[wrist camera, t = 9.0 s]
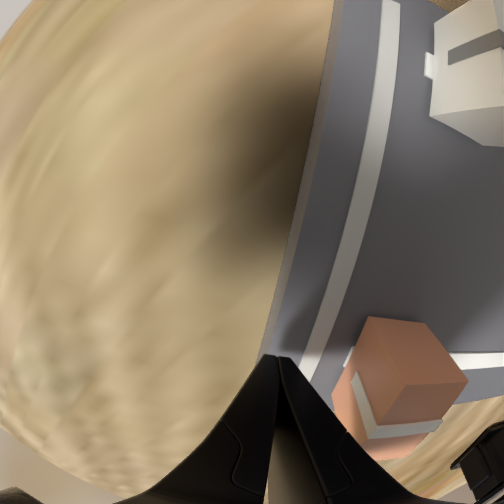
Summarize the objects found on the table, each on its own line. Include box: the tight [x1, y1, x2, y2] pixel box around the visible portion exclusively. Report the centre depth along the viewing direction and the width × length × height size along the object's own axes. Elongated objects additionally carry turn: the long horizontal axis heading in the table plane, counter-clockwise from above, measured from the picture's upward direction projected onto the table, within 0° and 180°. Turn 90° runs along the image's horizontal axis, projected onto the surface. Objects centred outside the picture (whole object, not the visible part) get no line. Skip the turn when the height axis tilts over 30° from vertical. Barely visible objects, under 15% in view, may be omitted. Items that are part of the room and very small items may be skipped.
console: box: [256, 0, 504, 411], centre depth 8 cm, size 18×16×2 cm
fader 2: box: [429, 0, 504, 147], centre depth 4 cm, size 2×4×3 cm
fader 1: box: [331, 316, 469, 461], centre depth 7 cm, size 2×4×3 cm
